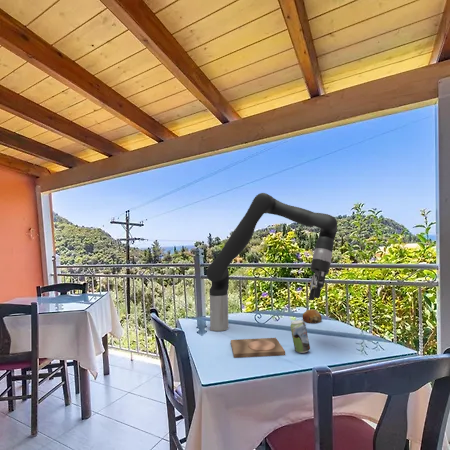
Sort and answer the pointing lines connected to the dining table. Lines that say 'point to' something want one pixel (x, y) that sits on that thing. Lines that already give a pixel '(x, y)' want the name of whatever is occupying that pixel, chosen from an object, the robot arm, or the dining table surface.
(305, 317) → the bread roll
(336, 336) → the dining table surface
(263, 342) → the serving board
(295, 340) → the beverage can
